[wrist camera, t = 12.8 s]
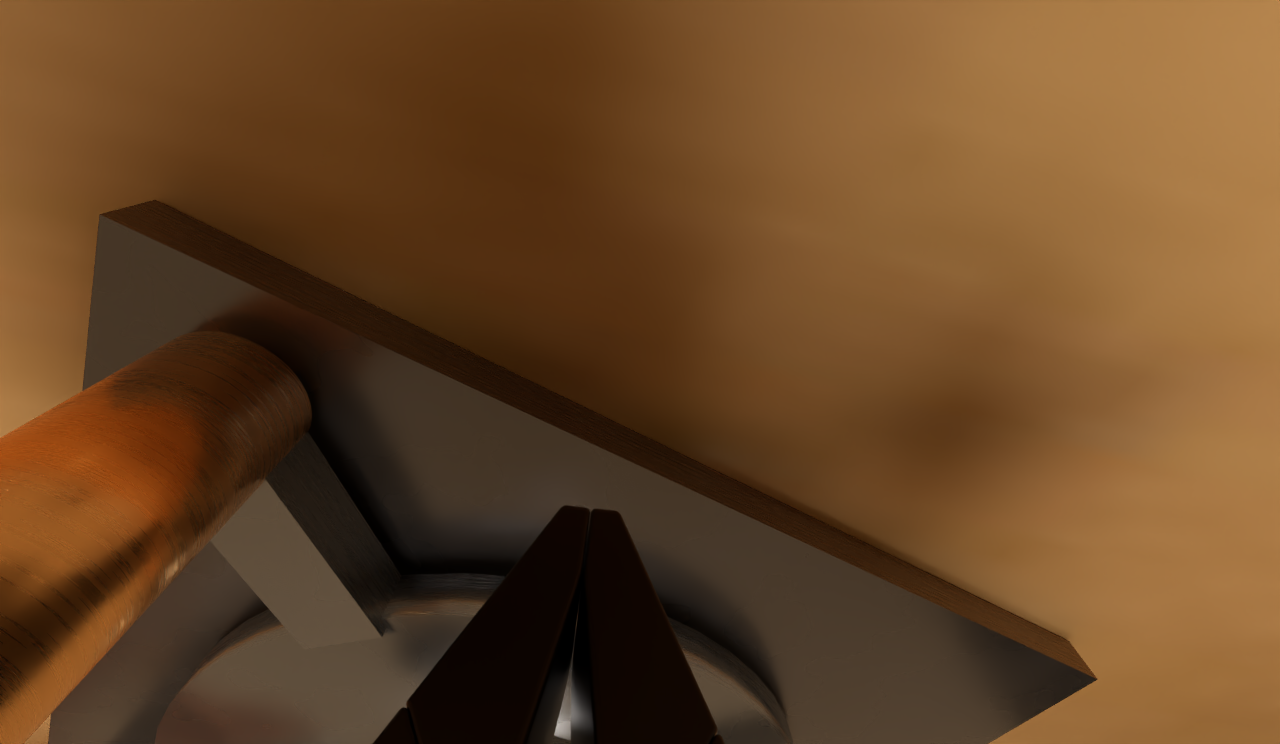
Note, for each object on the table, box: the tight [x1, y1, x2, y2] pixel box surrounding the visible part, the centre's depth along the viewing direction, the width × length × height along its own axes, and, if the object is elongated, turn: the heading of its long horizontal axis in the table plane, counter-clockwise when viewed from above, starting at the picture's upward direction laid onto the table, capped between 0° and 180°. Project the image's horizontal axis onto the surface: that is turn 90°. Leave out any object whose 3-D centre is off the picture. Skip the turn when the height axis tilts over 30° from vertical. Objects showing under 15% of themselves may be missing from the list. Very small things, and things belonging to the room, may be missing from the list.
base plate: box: [48, 200, 1097, 744], centre depth 15 cm, size 22×22×1 cm
